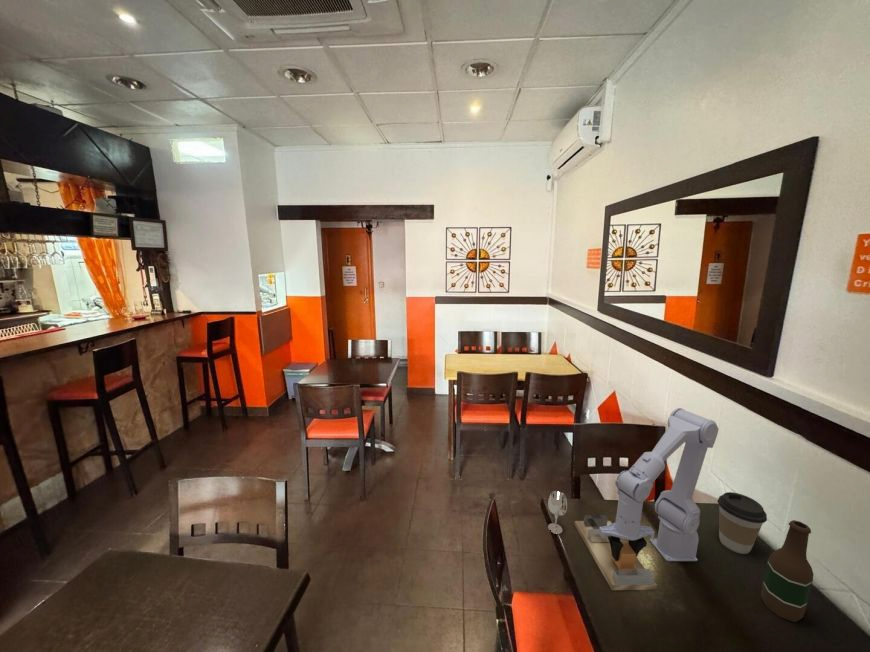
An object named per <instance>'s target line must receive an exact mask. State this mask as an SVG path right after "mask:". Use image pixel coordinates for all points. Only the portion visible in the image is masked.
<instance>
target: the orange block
mask: <svg viewBox="0 0 870 652" xmlns="http://www.w3.org/2000/svg"><path fill="white" fill-rule="evenodd" d="M622 544H623V545H624V546H623V547H622V549H621V551H620V556H619V560H618V561H615V560H614V558H613V556H612V559H613V561H614V562H615V564H616V565H617V567H618V568H619V569H634V565H635V558H636V557H637V556H636V553H635V552H634V551H633V549H632V548H631V547H630V545H629V544H628V541H625V542H622Z"/></svg>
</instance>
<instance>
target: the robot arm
mask: <svg viewBox="0 0 870 652" xmlns="http://www.w3.org/2000/svg"><path fill="white" fill-rule="evenodd" d="M667 418H668V419H667V428H666V430H665V432H664V433H663V435H662V436H661V437H660V439H659V441H658V442H656V445H655V446H654V448H653V449H652V451H645V452H643V454H641V455H640V457H639V458H638V459H637V460H636V461H635V463H634V464H632V466H631V467H630V468H629V469H628V470H623V471H621V472H620V473H619V474H618V475H617V477H616V480H615V481H614V483H615V484H614V485H615V487H616V489H617V491H616V494H617V495H618V501H617V508H616V509H617V510H616V515H615V516H616V517H615V522H613V523H612V524H610V525H607V526H604V527H599V534H600V536H601V537H602V538H606V536H607V537H608V539H609V542H610V546H611V552H612V556H613V558H614V560H615V561H618V560H619V556H620V551H621V549H622V547H623V546H624V545H623V544H622V542H621V541H620V538H623V539H624V540H626V541H627V540H628V541H627V543H628V544H629V545H630V547H631V548H632V549H633V551H634V552H635V553H636V557H637V556H638V555H639V553H640V552H641V551H642V550H643V549H644V548H645V547H647V546H648V542H647V540H646V538H645V537H648V538H649V542H650V543H651V544H652V545H653V546H654V548H655V549H656V550H657V551H658V552H659V554H660V555H661V556H662V558H664V560H665V561H666V562H698V558H697V551H698V546H699V540H700V539H699V538H700V537H699V534H698V531H697V530H698V528H699V526H700V516H701V509H700V508H699V506H698V504H696V502H695V501H694V499H693V496H694V492H695V490H696V486H697V483H698V480H699V476H700V474H701V470H702V468H703V464H704V460H705V458H706V454H707V451H708V448H709V449H710V448H711V449H712V448H714V446H715V443H716V440H717V437H718V434H719V427H718V425H717V423H716V422H715V421H714V420H712V419H709V418H706V417H703V416H701V415H697V414H695V413H693V412H690V411H687V410H685V409H683V408H681V407H677V408H675V409H674V410H673V411H672V412H671V413H670V414H669V416H668V417H667ZM683 444H684V447H683V450H682V453H681V457H680V459H679V463H678V466H677V470H676V473H675V477H674V480H673V483H672V485H671V489H667V490H663V491H661V492H660V494H659V496H658V498H657V499H656V501H655V504H654V511H655V513H656V514H657V518H658V519H659V525H658V526H659V527H658V534H657V538H655V531H654V529H653V528H652V527H651V526H647V525H641V521H642V514H643V513H642V512H643V507H644V502H645V500H646V499H648V498H649V496H650V494H651V492H652V488H653V487H654V482H655V480H656V479H658V477H659V476H661V473H662V472H664V471H665V469H666V465H665V462H666V461H667V459H668V458H670V456H672V454H674V453H675V452H676V451H677V450H679V448H680V447H682V445H683Z"/></svg>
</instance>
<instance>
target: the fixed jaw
mask: <svg viewBox="0 0 870 652" xmlns="http://www.w3.org/2000/svg"><path fill="white" fill-rule="evenodd" d="M655 576H656V575H655V573H654V572H653V571H652V569H651V568H645V569H613V576H612V579H613V581H614V582H615V584H616V585H653V584H654V582H655Z"/></svg>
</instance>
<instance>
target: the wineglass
mask: <svg viewBox="0 0 870 652" xmlns="http://www.w3.org/2000/svg"><path fill="white" fill-rule="evenodd" d="M547 508H548V510H549V511H550V513H551V514H553V515H554V523H553V522H552V523H549V524H548V526H547V528H548V530H549V531H550V530H551V531H550V532H551V533H553V534H557V535H560V534H562V533H563V528H562V526H561V525H559V524H557V521H558V518H559V517H560V516H563V515H565V514H566V513H567V509H568V501H567V496H566V495H565V493H564V492H561V491H559V490H553V491H552V492H550V495H549V497H548V501H547Z"/></svg>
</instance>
